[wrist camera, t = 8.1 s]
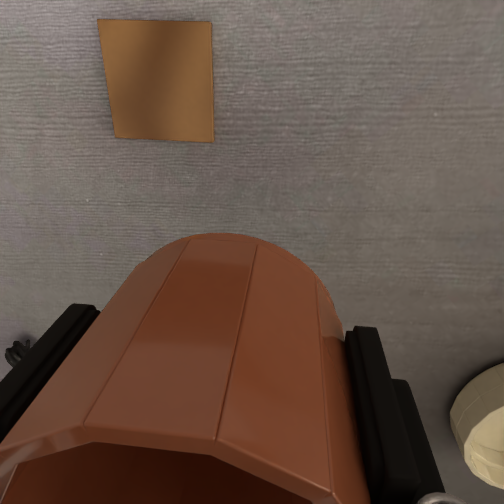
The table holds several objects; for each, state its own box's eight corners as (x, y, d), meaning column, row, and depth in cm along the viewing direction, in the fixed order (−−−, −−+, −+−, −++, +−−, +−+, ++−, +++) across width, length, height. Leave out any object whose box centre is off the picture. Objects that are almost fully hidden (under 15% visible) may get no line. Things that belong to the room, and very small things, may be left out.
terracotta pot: (352, 239, 10) (419, 462, 4) (324, 407, 13) (343, 650, 8) (108, 224, 10) (-90, 404, 5) (142, 389, 13) (44, 600, 8)
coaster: (211, 22, 22) (209, 21, 21) (214, 140, 25) (212, 142, 24) (101, 19, 22) (96, 19, 22) (118, 136, 26) (114, 137, 25)
